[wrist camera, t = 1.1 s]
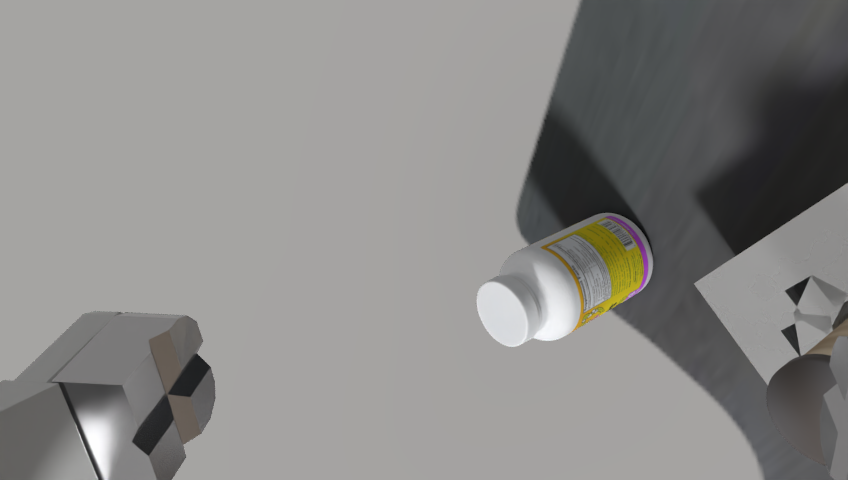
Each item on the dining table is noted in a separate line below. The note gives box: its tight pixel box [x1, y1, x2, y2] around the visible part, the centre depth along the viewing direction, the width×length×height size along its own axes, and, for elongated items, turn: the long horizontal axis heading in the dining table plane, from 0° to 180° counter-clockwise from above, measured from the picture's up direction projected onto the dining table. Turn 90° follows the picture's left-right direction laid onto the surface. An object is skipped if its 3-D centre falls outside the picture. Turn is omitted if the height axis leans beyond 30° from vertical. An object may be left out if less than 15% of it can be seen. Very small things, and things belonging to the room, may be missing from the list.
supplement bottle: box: [477, 213, 653, 347], centre depth 53 cm, size 7×7×13 cm
